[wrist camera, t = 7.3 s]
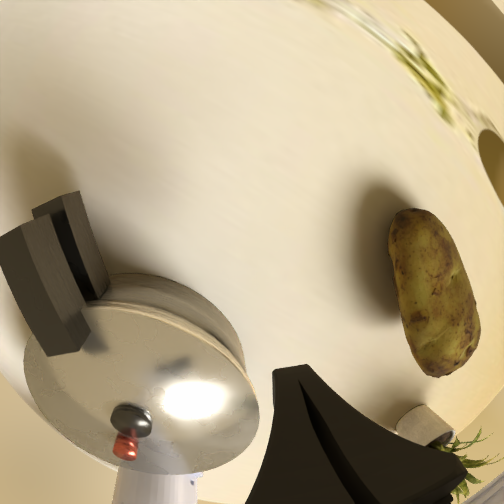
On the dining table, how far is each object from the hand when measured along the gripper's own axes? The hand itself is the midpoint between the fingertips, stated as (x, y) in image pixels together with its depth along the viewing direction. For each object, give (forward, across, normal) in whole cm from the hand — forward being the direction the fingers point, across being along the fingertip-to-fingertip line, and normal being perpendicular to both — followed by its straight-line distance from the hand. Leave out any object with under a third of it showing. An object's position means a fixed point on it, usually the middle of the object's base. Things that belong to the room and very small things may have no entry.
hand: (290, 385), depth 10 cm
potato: (+11, -13, +2) cm, 17 cm away
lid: (+5, +10, +4) cm, 12 cm away
